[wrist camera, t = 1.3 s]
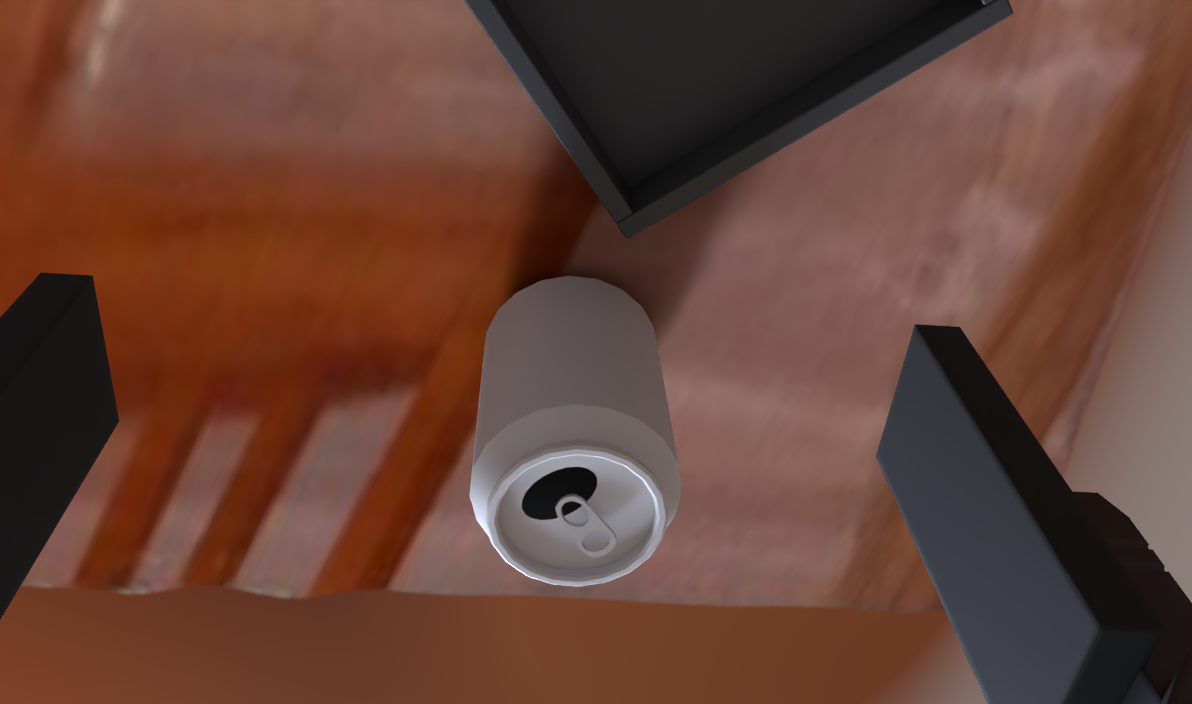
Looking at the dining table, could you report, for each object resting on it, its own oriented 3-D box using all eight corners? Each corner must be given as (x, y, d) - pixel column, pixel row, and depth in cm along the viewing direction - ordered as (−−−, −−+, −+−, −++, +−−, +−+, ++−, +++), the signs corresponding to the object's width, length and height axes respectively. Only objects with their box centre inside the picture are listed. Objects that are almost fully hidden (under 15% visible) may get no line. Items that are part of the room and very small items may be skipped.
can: (588, 232, 42) (601, 394, 32) (688, 355, 46) (730, 537, 35) (449, 329, 44) (419, 510, 34) (555, 440, 48) (557, 635, 37)
